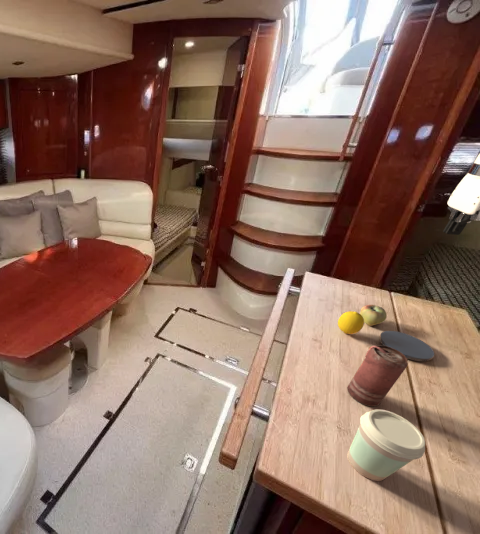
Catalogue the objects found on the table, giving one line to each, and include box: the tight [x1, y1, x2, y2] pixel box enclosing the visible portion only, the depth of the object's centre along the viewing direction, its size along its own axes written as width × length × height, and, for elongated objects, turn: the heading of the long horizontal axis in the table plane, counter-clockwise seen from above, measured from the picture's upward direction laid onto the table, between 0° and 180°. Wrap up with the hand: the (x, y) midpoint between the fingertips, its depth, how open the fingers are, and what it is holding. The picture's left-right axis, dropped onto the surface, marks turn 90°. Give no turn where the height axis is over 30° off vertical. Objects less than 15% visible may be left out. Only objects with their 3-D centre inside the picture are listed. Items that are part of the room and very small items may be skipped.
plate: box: [378, 330, 435, 362], centre depth 85 cm, size 11×11×2 cm
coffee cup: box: [346, 409, 426, 482], centre depth 57 cm, size 8×8×12 cm
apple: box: [359, 304, 388, 327], centre depth 94 cm, size 6×8×6 cm
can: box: [346, 344, 409, 407], centre depth 69 cm, size 6×6×14 cm
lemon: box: [337, 310, 365, 335], centre depth 89 cm, size 6×6×8 cm
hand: (451, 233), depth 92 cm, fingers closed
